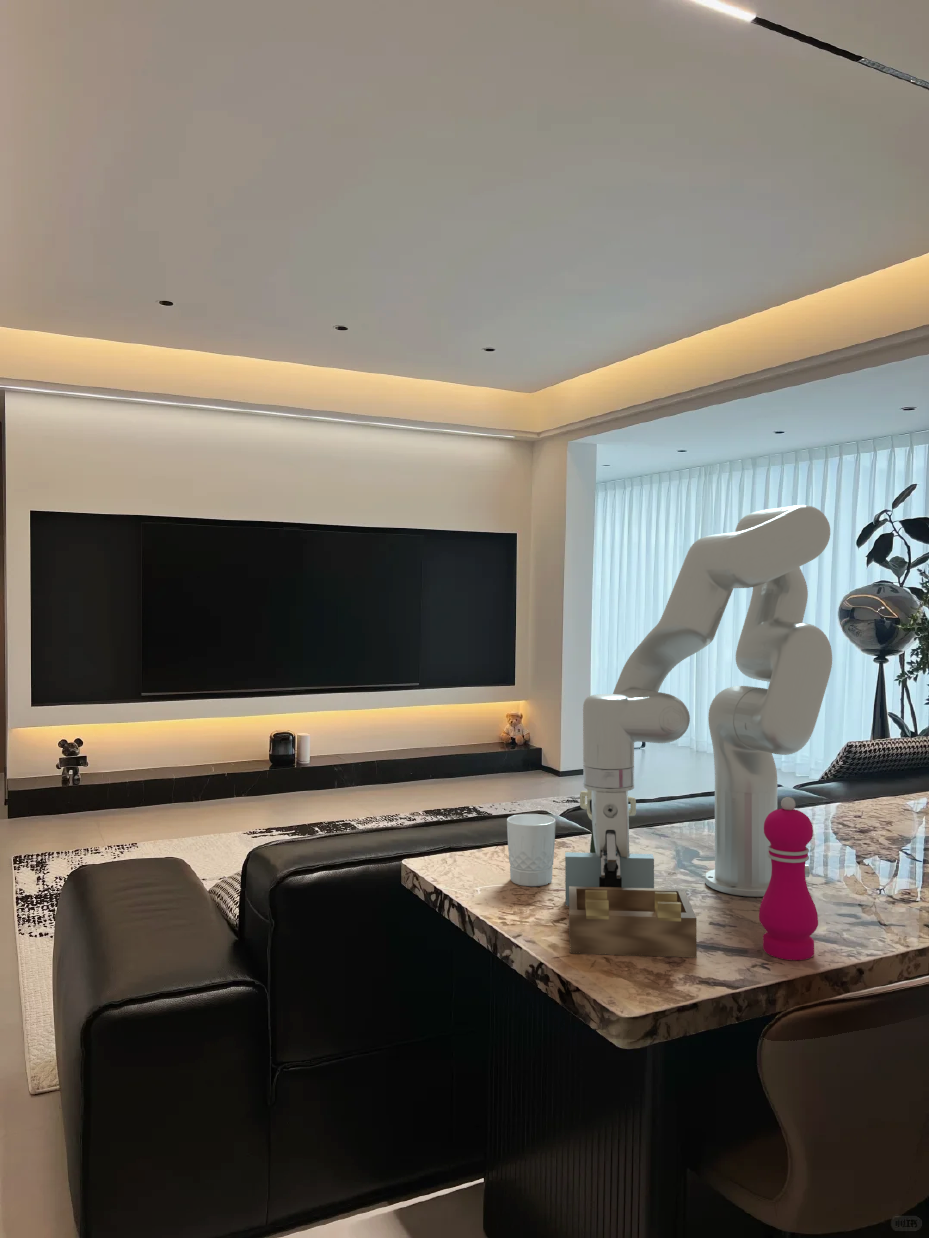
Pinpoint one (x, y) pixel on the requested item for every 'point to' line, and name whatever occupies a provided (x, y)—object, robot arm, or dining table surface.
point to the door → (588, 870)
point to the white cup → (531, 848)
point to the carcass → (631, 922)
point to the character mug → (589, 810)
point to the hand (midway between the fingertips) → (609, 895)
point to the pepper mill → (788, 886)
